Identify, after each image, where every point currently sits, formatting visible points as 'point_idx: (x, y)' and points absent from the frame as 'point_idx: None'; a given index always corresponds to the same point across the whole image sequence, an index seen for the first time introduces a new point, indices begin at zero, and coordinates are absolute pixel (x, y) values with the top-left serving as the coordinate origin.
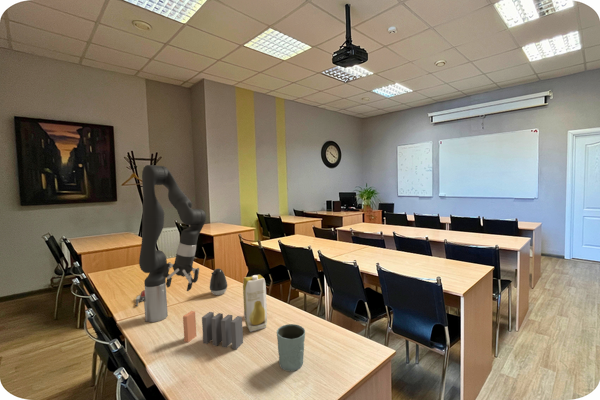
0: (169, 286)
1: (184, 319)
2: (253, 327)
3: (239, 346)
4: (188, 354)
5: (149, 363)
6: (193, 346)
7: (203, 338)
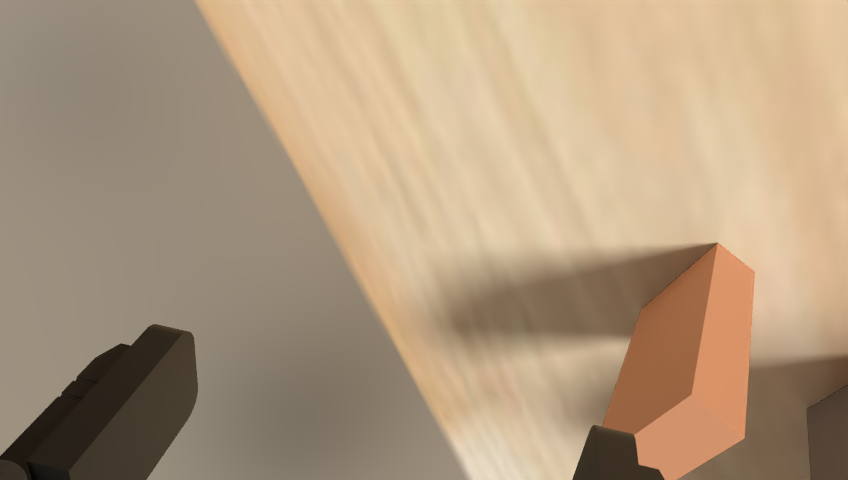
0: (192, 360)
1: None
2: None
3: None
4: None
5: (448, 428)
6: None
7: (812, 441)
